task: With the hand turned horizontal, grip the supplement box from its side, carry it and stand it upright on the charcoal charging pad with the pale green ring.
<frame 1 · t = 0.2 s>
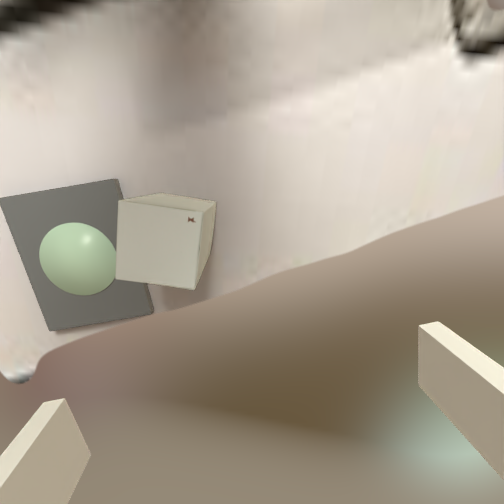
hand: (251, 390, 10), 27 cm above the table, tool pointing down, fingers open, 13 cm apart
supplement box: (186, 224, 36), on the table
charging pad: (84, 257, 36), on the table
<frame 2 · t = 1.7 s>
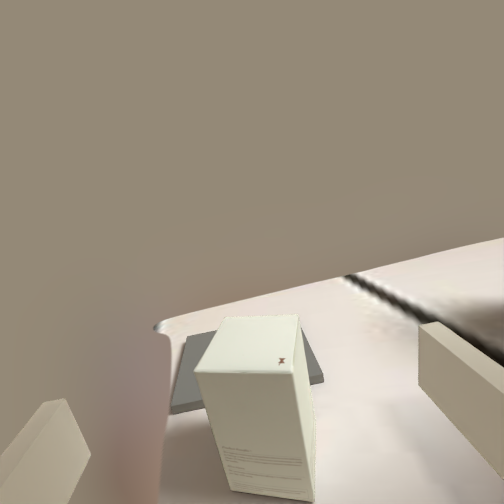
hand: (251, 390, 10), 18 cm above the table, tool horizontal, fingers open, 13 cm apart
supplement box: (276, 454, 26), on the table
charging pad: (245, 359, 39), on the table
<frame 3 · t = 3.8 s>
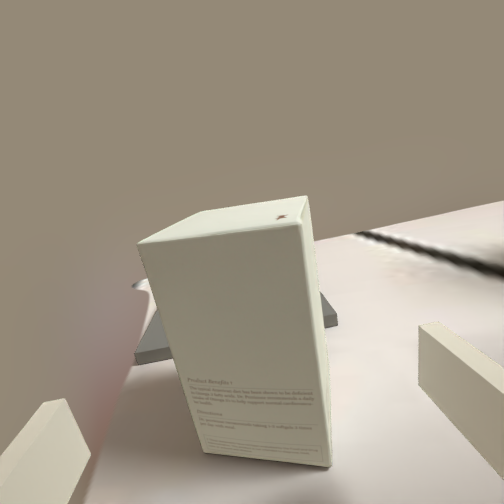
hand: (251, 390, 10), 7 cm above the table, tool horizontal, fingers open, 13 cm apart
supplement box: (273, 407, 18), on the table
charging pad: (237, 307, 31), on the table
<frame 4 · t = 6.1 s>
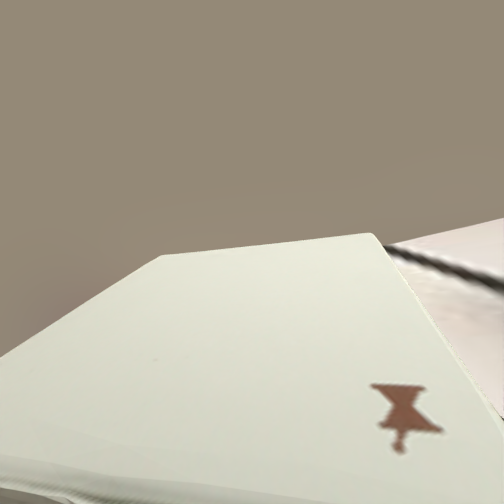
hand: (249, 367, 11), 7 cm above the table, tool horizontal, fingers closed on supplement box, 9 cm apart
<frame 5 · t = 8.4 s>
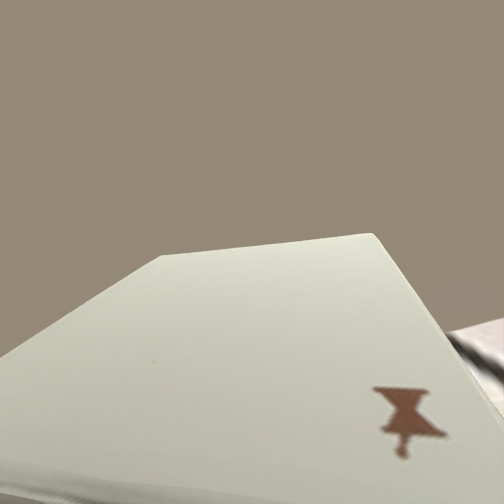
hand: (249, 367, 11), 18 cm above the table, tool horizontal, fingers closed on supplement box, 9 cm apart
when the fingers open (9 cm above the table, at t = 10.8 s): supplement box drops 1 cm, resting on charging pad.
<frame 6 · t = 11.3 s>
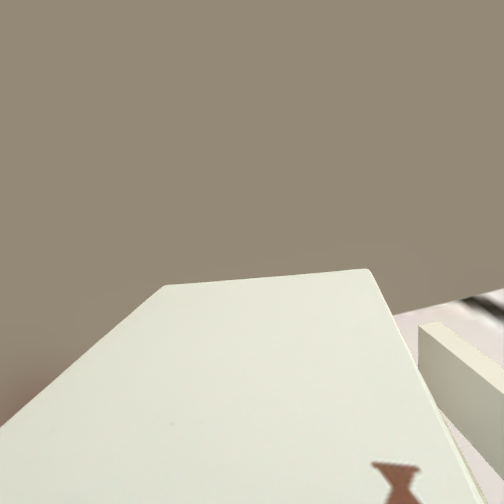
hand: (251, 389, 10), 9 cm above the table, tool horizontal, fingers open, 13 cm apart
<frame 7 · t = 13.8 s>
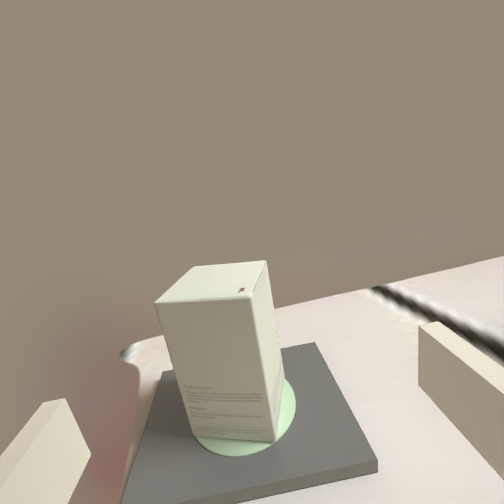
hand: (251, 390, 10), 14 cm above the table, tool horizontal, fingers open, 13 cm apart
supplement box: (243, 405, 25), point 1 cm above the table, touching charging pad
charging pad: (245, 414, 26), on the table
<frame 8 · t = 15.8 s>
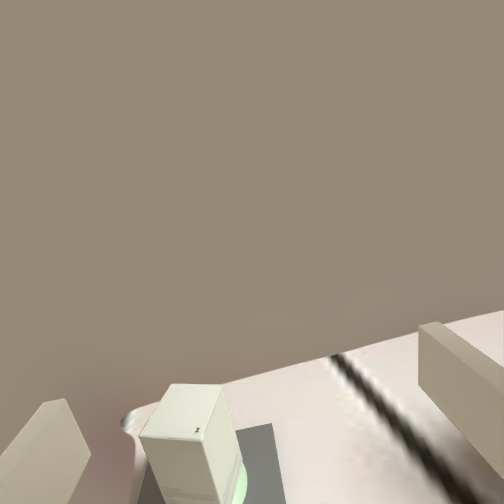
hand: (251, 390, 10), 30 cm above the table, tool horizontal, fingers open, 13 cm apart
supplement box: (209, 487, 34), point 1 cm above the table, touching charging pad
charging pad: (211, 493, 35), on the table
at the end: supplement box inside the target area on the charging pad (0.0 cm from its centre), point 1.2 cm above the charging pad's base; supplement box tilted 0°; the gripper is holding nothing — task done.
